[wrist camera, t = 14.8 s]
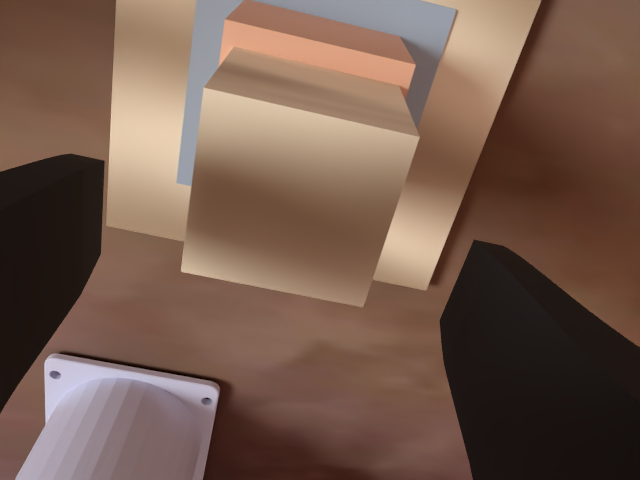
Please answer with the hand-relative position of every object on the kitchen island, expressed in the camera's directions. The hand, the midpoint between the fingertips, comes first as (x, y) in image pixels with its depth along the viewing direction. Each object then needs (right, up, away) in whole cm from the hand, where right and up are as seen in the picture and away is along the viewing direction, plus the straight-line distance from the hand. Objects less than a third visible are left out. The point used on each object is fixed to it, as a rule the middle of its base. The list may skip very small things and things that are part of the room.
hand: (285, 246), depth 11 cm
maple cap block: (0, +3, +5) cm, 6 cm away
